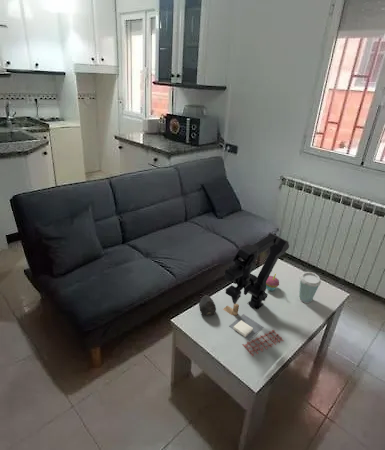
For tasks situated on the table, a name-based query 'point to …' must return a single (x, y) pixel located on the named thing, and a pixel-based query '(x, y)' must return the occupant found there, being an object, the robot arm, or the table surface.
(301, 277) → the disposable coffee cup
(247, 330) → the tile
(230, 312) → the turner
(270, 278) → the cupcake
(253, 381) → the table surface
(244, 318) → the mat
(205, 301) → the stone
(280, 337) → the red lattice rack
